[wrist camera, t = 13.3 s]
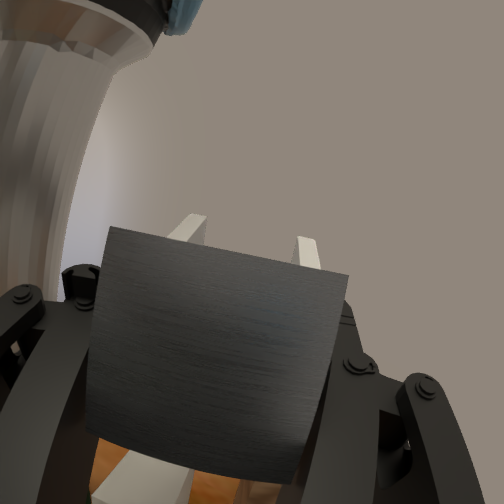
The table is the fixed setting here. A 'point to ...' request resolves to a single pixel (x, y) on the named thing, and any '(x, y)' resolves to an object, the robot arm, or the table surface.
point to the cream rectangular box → (145, 482)
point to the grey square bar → (209, 355)
